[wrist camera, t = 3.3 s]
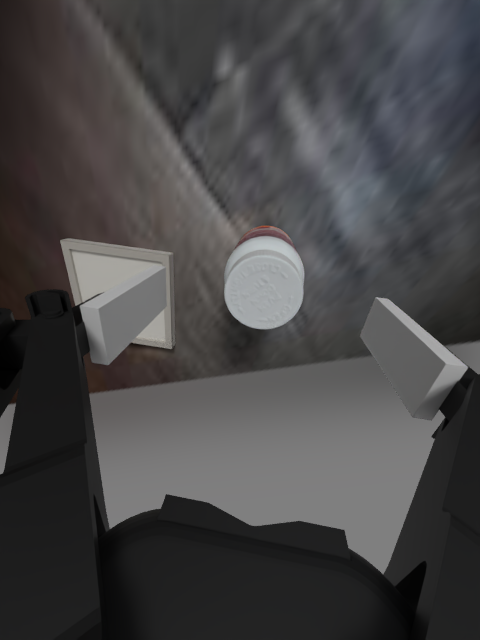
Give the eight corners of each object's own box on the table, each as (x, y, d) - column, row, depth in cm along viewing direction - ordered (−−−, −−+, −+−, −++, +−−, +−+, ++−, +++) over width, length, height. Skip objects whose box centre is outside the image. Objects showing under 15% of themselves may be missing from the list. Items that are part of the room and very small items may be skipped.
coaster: (89, 330, 32) (82, 334, 31) (69, 238, 27) (60, 240, 26) (175, 343, 32) (171, 349, 31) (173, 252, 26) (168, 255, 25)
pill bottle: (227, 237, 25) (199, 266, 15) (285, 215, 23) (296, 229, 13) (248, 290, 27) (235, 345, 17) (301, 273, 26) (321, 322, 16)
